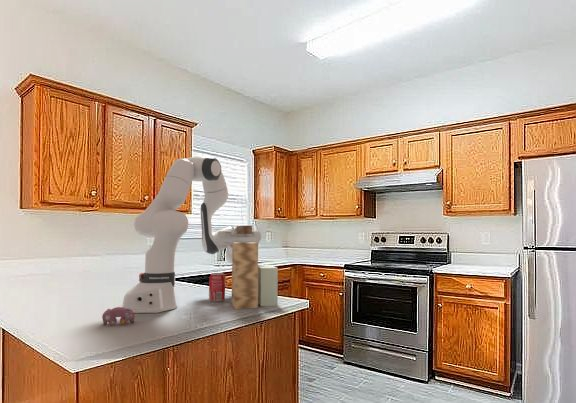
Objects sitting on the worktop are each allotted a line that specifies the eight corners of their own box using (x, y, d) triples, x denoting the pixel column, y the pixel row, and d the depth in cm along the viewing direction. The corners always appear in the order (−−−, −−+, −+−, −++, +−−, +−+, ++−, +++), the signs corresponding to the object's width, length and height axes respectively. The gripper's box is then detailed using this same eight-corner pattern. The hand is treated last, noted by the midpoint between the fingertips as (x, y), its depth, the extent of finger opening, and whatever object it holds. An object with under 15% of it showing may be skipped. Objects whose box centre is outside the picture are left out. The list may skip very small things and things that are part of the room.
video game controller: (101, 330, 128) (100, 313, 125) (103, 321, 132) (103, 304, 129) (134, 328, 131) (134, 311, 128) (135, 319, 135) (135, 302, 132)
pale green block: (260, 306, 163) (261, 268, 164) (254, 299, 178) (254, 264, 179) (277, 305, 164) (277, 267, 166) (269, 299, 180) (269, 264, 181)
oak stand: (235, 308, 157) (236, 243, 159) (231, 303, 169) (232, 242, 171) (257, 307, 159) (258, 243, 161) (252, 302, 171) (253, 242, 173)
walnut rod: (243, 233, 159) (243, 225, 159) (236, 233, 180) (236, 226, 180) (252, 234, 160) (252, 225, 160) (243, 233, 181) (243, 226, 181)
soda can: (217, 299, 180) (218, 272, 181) (228, 300, 175) (228, 273, 176) (205, 301, 174) (206, 273, 175) (216, 302, 170) (216, 274, 171)
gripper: (215, 237, 188) (217, 222, 177) (257, 237, 193) (262, 223, 182) (215, 249, 184) (218, 234, 173) (258, 249, 189) (263, 235, 178)
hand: (241, 228), depth 178 cm, fingers closed on walnut rod, 3 cm apart
